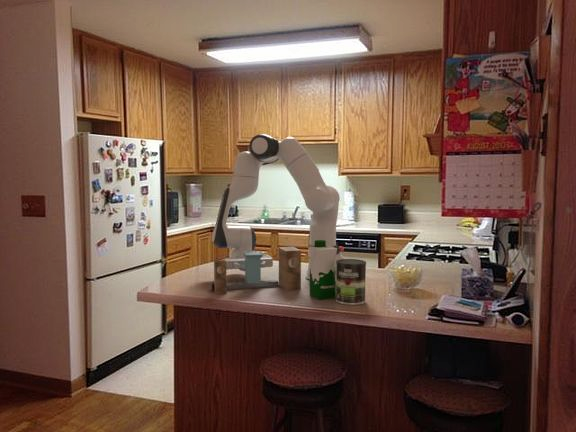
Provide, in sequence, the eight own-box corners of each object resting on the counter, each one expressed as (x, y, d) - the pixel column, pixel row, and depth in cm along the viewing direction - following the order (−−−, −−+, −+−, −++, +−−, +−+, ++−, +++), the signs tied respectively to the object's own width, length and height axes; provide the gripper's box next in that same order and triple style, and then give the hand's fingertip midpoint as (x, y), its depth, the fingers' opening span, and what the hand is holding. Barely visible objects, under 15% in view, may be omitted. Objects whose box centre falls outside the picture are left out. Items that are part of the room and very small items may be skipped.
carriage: (258, 279, 195) (258, 252, 194) (262, 282, 190) (262, 254, 189) (243, 280, 194) (243, 252, 193) (247, 283, 188) (246, 255, 187)
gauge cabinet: (293, 283, 199) (293, 246, 197) (301, 289, 188) (301, 250, 187) (278, 284, 197) (278, 247, 195) (286, 290, 186) (286, 251, 185)
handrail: (276, 284, 196) (276, 277, 196) (278, 286, 193) (278, 279, 193) (210, 289, 189) (210, 281, 188) (212, 291, 185) (211, 283, 185)
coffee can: (362, 306, 165) (362, 264, 163) (332, 303, 168) (332, 262, 167) (368, 299, 174) (368, 259, 173) (339, 296, 178) (340, 258, 177)
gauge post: (224, 291, 186) (224, 259, 184) (227, 294, 181) (226, 261, 180) (214, 291, 184) (213, 260, 183) (216, 294, 180) (215, 262, 179)
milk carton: (327, 292, 184) (327, 239, 182) (339, 298, 175) (339, 242, 174) (306, 294, 180) (306, 240, 178) (317, 300, 172) (317, 244, 170)
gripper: (219, 254, 203) (225, 259, 190) (267, 251, 209) (276, 256, 196) (220, 269, 203) (225, 275, 190) (267, 266, 209) (276, 272, 196)
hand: (251, 266), depth 193 cm, fingers open, 8 cm apart
